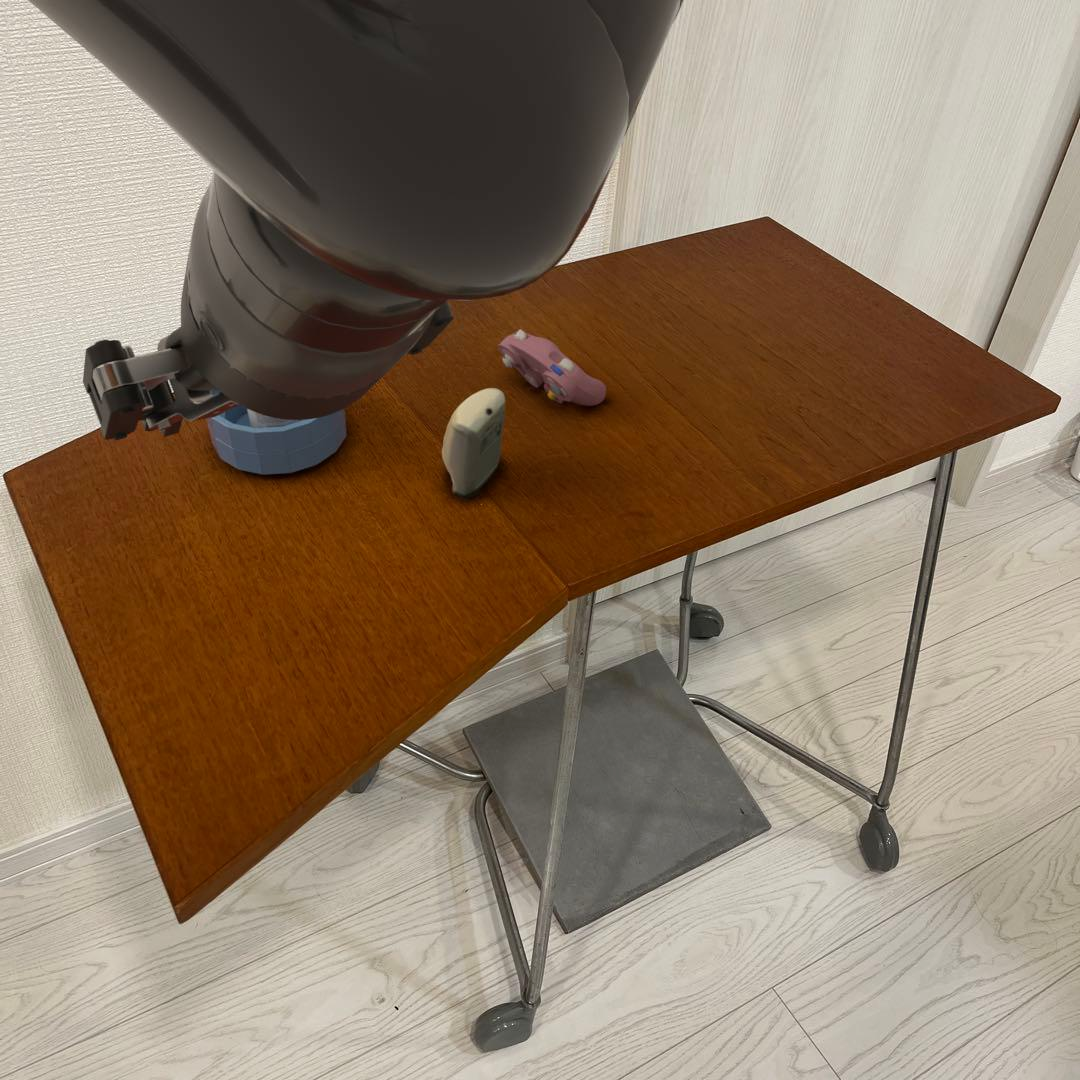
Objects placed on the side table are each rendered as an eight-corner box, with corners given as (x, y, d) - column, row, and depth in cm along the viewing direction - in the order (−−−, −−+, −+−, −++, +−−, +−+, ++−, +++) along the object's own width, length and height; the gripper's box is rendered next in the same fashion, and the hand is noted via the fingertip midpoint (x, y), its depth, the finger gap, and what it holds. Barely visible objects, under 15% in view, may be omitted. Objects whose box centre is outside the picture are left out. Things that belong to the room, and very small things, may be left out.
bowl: (238, 495, 82) (227, 447, 78) (198, 421, 89) (185, 373, 85) (367, 454, 86) (362, 406, 83) (318, 386, 93) (312, 339, 89)
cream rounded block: (508, 503, 82) (509, 424, 77) (444, 505, 82) (440, 427, 76) (503, 458, 86) (504, 380, 81) (442, 460, 86) (438, 382, 80)
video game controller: (508, 383, 97) (482, 339, 91) (540, 350, 97) (516, 304, 91) (580, 432, 91) (558, 389, 86) (613, 396, 92) (594, 351, 86)
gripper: (466, 130, 35) (365, 277, 50) (35, 216, 30) (66, 352, 45) (539, 336, 36) (417, 420, 51) (127, 457, 30) (127, 511, 45)
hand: (252, 388), depth 48 cm, fingers open, 8 cm apart
